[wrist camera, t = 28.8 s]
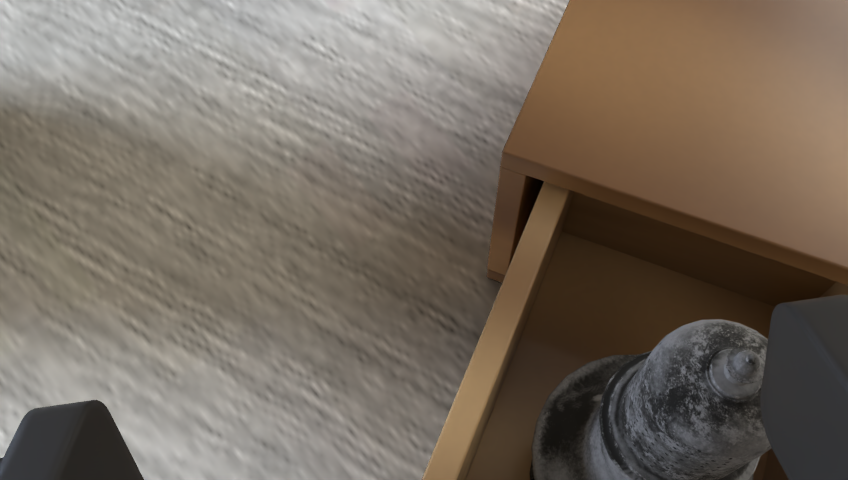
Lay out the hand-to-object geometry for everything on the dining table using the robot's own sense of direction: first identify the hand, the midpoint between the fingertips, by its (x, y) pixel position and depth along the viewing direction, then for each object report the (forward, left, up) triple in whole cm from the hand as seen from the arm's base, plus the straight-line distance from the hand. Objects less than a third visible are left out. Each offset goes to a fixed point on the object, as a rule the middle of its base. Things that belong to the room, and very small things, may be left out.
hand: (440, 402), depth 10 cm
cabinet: (+18, +2, -18) cm, 25 cm away
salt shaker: (+5, -3, -16) cm, 17 cm away
